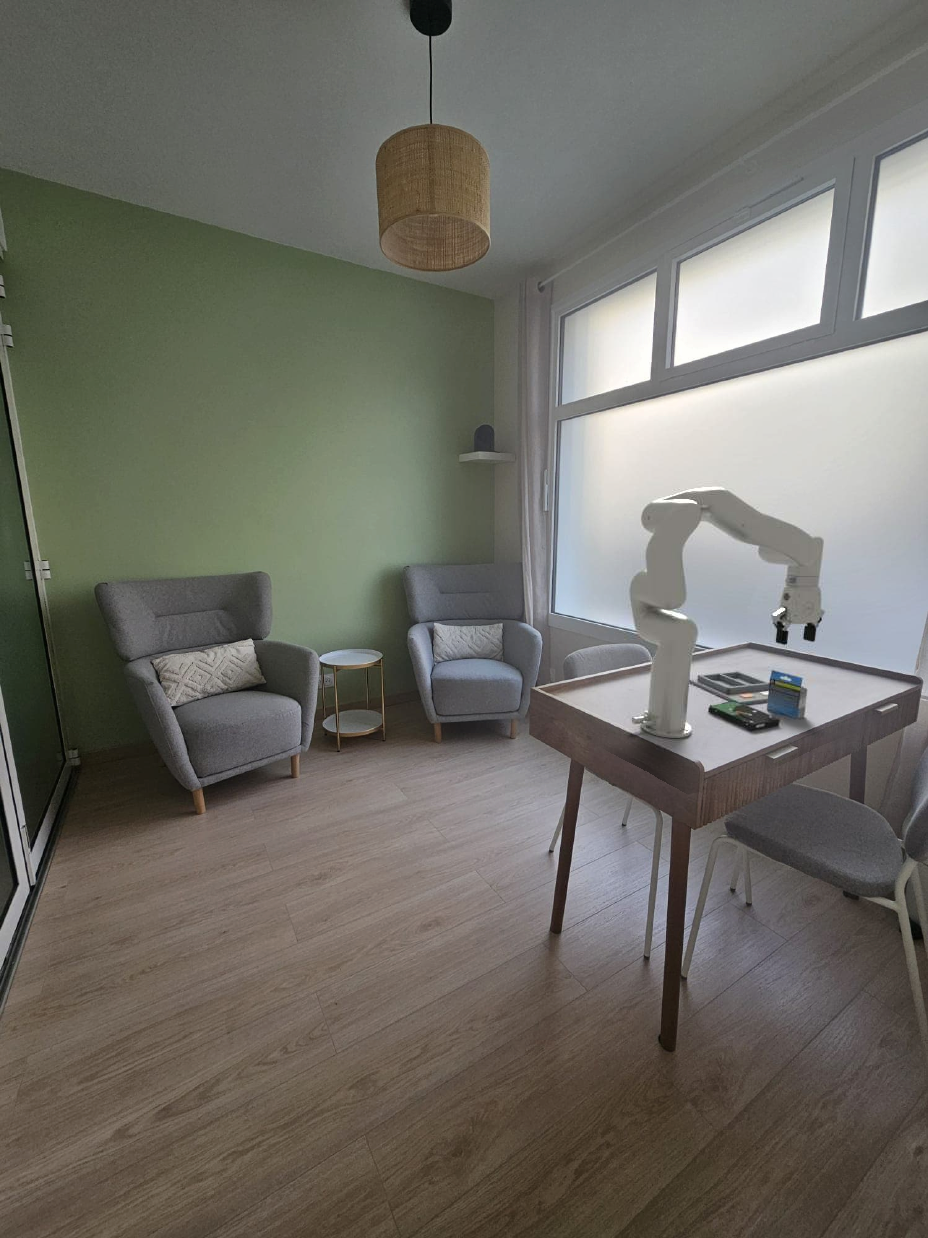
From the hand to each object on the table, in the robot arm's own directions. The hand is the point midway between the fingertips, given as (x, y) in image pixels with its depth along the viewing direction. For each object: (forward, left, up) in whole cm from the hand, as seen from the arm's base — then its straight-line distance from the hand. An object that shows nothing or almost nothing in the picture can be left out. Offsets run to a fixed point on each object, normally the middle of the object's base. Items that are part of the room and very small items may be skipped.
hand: (795, 642), depth 142 cm
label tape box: (0, 0, -21) cm, 21 cm away
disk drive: (-15, 0, -22) cm, 27 cm away
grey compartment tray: (+2, +19, -21) cm, 29 cm away
